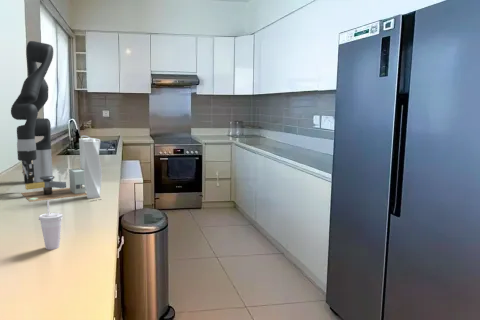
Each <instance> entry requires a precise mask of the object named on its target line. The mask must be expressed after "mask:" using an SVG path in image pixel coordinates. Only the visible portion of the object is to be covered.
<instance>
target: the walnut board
mask: <svg viewBox="0 0 480 320" xmlns="http://www.w3.org/2000/svg"><path fill="white" fill-rule="evenodd" d="M21 194H22V196H23V197H24V198H25V199H26V201H28V202H29V203H31V202H33V203H34V202H39V201H40V202H41V201H49V200H57V199H64V198H65V199H66V198H73V197H74V198H75V197H82V196H87V192H85V193H80V194H75V193H73V192H72V191H70V187H66V188H55V189H54V188H52V194H44V192H43V190H37V191H35V190H33V191H28V192H21ZM31 198H38V199H36V200H28V199H31Z"/></svg>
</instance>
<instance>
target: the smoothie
mask: <svg viewBox="0 0 480 320" xmlns="http://www.w3.org/2000/svg"><path fill="white" fill-rule="evenodd" d="M46 205H47V206H46V209H47V210H46V211H47V213H43V214H40V215H38V220H39V222H40V225H41V226H40V227H41V232H42V237H43V242H44V246H45V249H46V250H57V249H59V248H60V244H61V243H60V241H61V232H62V229H61V228H62V219H63V218H64V217H63V213H61V212H50V201H49V200H46Z"/></svg>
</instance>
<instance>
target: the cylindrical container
mask: <svg viewBox="0 0 480 320" xmlns="http://www.w3.org/2000/svg"><path fill="white" fill-rule="evenodd" d="M90 138H91V139H92V138H93V137H90ZM90 138H88V137H82V139H83V141H88V139H90ZM82 139H81V138H78V142H79V143H78V144H79V146H78V147H79V165H80V168H79V169H81V170H83V171H84V162H85V153H84V148H83V142H82ZM85 191H86V186H85Z"/></svg>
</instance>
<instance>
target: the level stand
mask: <svg viewBox="0 0 480 320" xmlns="http://www.w3.org/2000/svg"><path fill="white" fill-rule="evenodd" d="M68 174H69V175H68V176H69V188H70V191H72V192H73V193H75V194H80V193H86V190H85V178H84V171H83V170H81V169H80V168H70V169H68Z"/></svg>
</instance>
